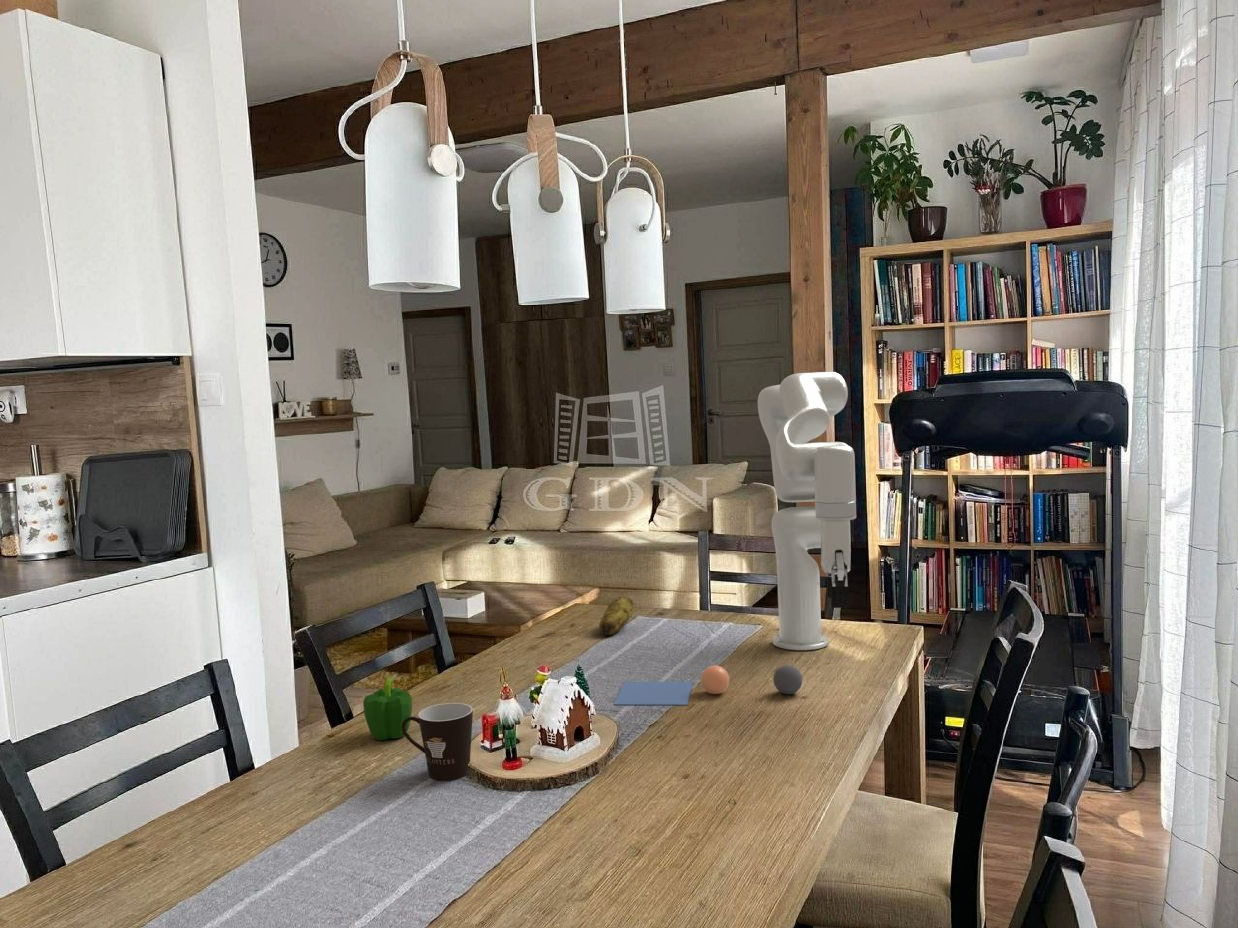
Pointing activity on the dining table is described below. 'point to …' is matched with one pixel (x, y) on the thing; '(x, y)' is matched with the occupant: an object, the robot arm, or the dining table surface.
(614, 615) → the potato
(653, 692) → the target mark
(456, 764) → the coffee mug
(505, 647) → the dining table surface
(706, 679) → the object ball
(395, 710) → the bell pepper
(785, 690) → the dark gray ball
